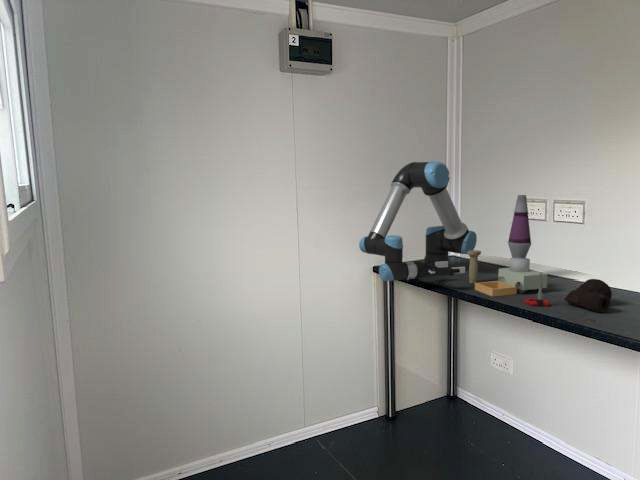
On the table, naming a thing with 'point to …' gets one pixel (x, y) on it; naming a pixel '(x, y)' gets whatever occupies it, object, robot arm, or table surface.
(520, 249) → the lamp
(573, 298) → the dark brown irregular lump
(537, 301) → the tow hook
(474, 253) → the handle
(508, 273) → the grey and tan pieces
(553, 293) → the table surface
